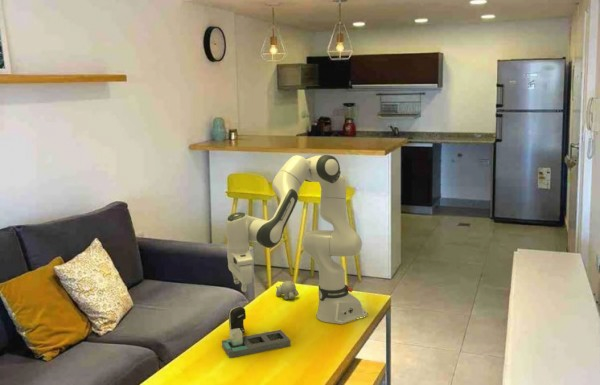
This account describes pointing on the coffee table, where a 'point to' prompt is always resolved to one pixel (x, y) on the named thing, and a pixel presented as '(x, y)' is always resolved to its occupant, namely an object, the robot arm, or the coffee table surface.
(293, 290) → the toy rhinoceros
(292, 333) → the coffee table surface
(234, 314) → the battery charger
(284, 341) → the grey slotted board
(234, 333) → the steel block
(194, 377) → the coffee table surface
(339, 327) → the coffee table surface
